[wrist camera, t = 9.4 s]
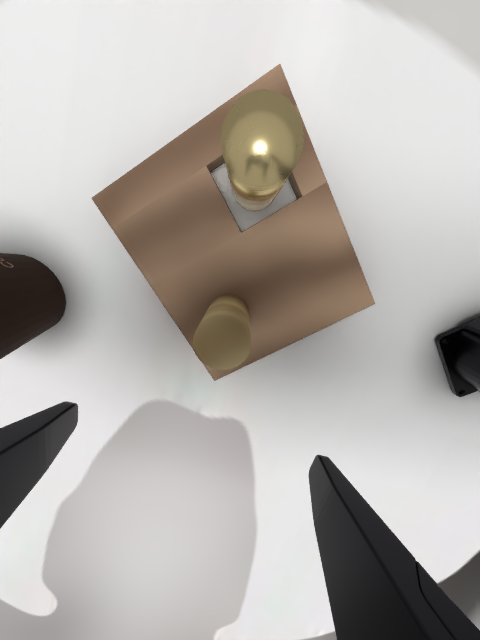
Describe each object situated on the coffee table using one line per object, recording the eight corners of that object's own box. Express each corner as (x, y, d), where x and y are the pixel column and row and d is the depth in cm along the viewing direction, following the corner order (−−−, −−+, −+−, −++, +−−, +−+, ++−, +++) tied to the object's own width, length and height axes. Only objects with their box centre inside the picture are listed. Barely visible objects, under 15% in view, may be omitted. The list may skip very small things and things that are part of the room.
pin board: (365, 298, 19) (428, 329, 13) (216, 371, 22) (203, 429, 15) (276, 80, 15) (301, -48, 8) (104, 201, 17) (16, 177, 11)
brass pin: (283, 165, 16) (314, 100, 9) (271, 214, 17) (290, 195, 10) (237, 154, 16) (229, 79, 9) (228, 205, 17) (214, 177, 10)
